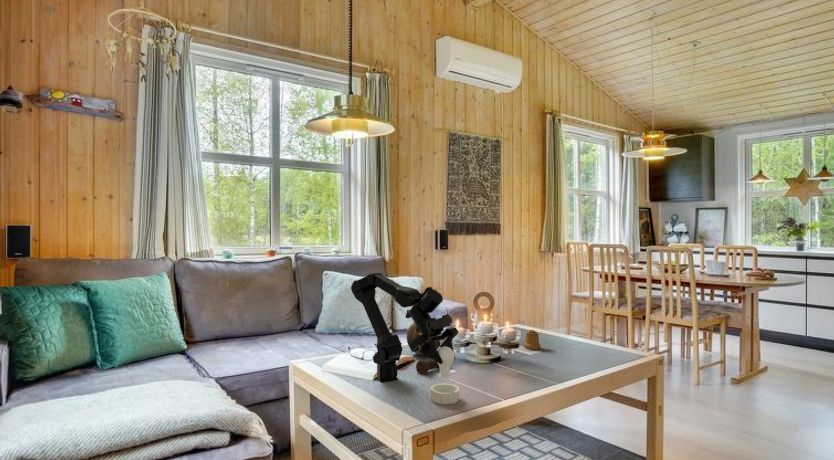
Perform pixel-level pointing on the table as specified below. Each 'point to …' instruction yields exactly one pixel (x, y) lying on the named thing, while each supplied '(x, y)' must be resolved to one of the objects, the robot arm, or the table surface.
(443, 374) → the lightbulb
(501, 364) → the table surface
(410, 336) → the wooden sphere
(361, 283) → the robot arm
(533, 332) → the brass bell
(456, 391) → the ring
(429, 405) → the table surface
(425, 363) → the bolt
